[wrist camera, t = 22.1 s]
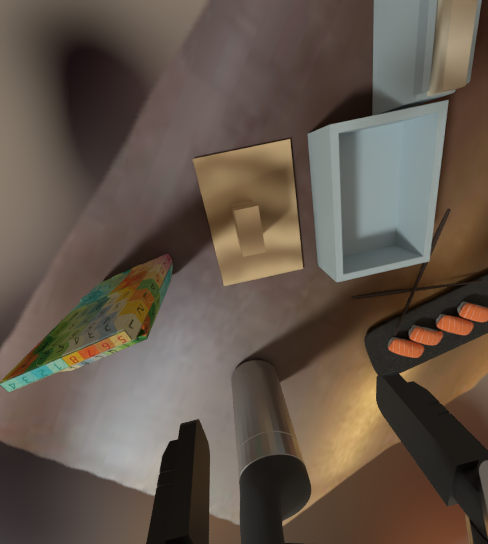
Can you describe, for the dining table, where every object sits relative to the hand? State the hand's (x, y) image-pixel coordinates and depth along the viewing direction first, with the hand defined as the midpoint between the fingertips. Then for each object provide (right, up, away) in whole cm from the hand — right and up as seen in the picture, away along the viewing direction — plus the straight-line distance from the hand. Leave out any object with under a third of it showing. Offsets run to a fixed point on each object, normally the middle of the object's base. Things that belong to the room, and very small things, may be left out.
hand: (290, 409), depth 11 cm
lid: (-1, +14, +27) cm, 31 cm away
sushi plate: (+33, +2, +37) cm, 49 cm away
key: (+18, +31, +13) cm, 38 cm away
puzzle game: (-19, +6, +28) cm, 34 cm away
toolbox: (+14, +24, +24) cm, 37 cm away
